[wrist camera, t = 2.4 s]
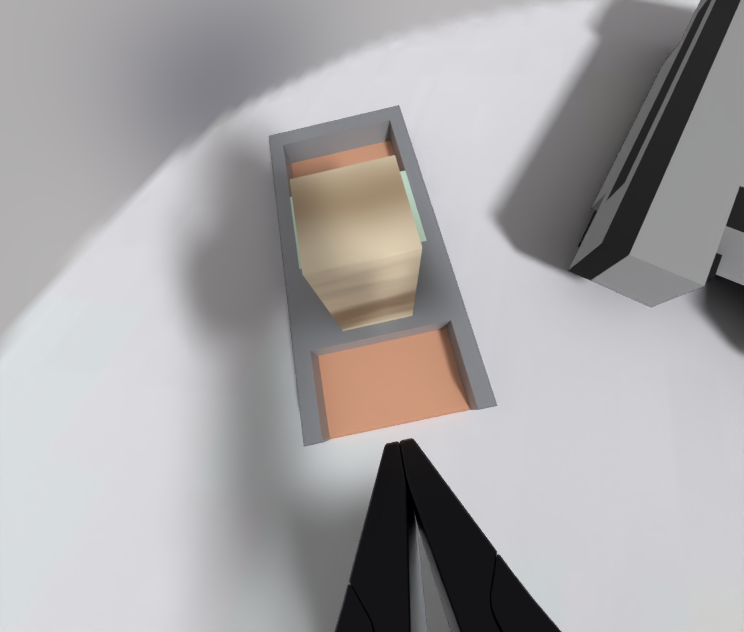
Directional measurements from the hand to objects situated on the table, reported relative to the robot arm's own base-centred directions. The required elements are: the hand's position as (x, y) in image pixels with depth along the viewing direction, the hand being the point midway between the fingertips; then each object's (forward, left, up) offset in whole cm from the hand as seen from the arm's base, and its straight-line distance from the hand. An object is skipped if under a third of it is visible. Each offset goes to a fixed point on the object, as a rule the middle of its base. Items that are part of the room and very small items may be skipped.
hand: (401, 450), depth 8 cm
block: (+7, -7, -10) cm, 14 cm away
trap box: (+10, -10, -13) cm, 19 cm away
